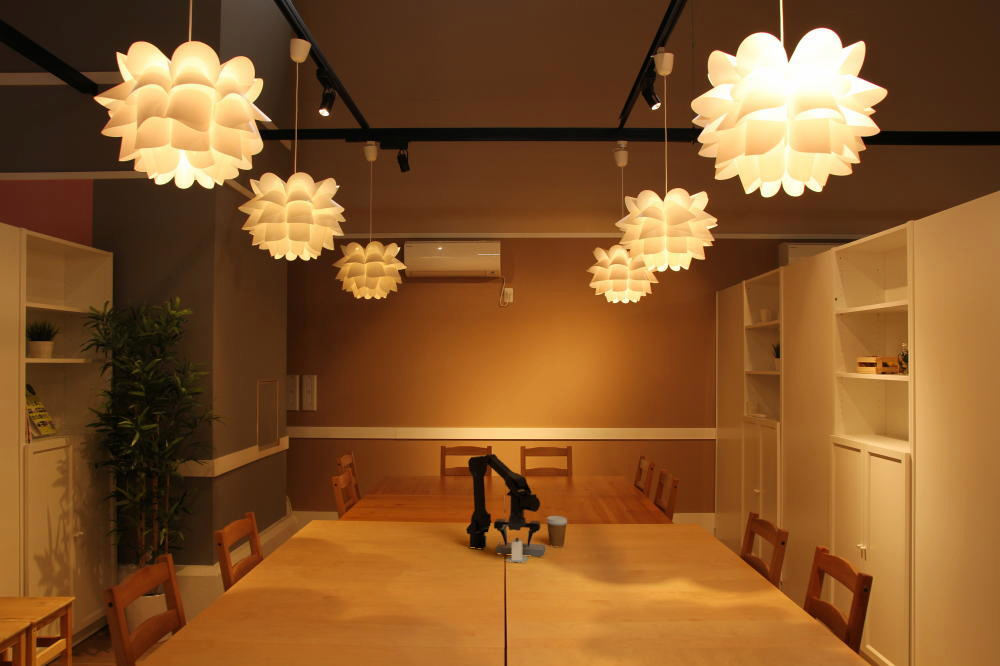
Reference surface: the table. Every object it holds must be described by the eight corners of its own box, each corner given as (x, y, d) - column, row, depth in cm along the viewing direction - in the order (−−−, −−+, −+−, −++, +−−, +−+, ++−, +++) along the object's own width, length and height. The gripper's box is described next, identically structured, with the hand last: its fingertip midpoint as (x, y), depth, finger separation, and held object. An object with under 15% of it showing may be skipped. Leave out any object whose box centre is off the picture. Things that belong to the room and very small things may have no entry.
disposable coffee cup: (568, 548, 267) (568, 520, 267) (546, 548, 267) (546, 520, 267) (566, 542, 276) (566, 515, 277) (545, 542, 276) (545, 515, 277)
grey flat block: (495, 554, 258) (495, 545, 258) (499, 548, 266) (499, 540, 266) (542, 557, 254) (542, 548, 254) (545, 551, 262) (545, 543, 262)
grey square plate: (505, 562, 247) (505, 560, 247) (509, 556, 255) (509, 554, 255) (525, 563, 246) (525, 562, 246) (528, 557, 254) (528, 556, 254)
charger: (511, 559, 249) (511, 539, 250) (513, 556, 253) (513, 536, 253) (521, 560, 248) (521, 539, 249) (522, 557, 252) (522, 537, 253)
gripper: (491, 511, 246) (491, 550, 245) (537, 513, 242) (537, 553, 241) (496, 505, 257) (496, 542, 256) (540, 507, 253) (540, 545, 252)
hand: (517, 546), depth 251 cm, fingers open, 9 cm apart
